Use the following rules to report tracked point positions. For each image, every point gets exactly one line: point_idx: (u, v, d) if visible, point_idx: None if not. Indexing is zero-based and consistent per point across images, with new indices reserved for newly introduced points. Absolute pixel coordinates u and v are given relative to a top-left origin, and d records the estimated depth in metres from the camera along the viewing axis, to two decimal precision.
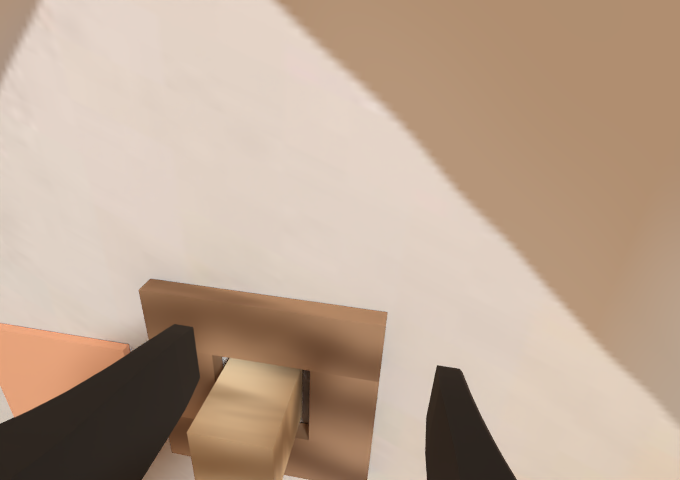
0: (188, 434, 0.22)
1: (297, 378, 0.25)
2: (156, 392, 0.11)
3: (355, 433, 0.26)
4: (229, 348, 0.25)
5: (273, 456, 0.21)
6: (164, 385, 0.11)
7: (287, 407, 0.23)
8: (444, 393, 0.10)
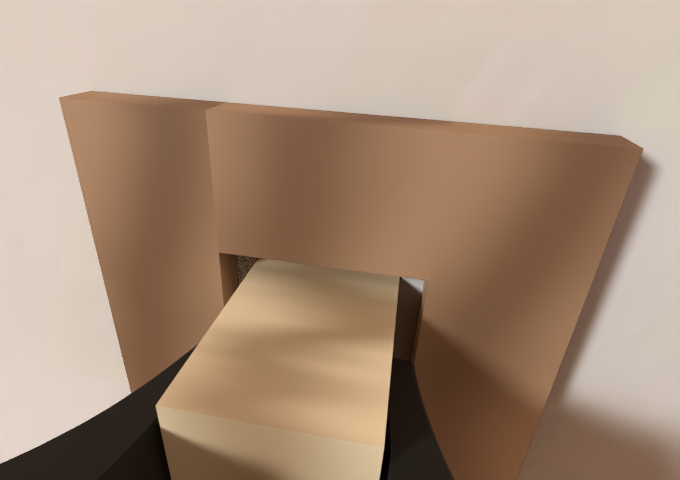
0: None
1: (248, 278, 0.13)
2: None
3: (386, 170, 0.10)
4: None
5: (192, 408, 0.08)
6: None
7: (213, 324, 0.11)
8: (390, 384, 0.10)
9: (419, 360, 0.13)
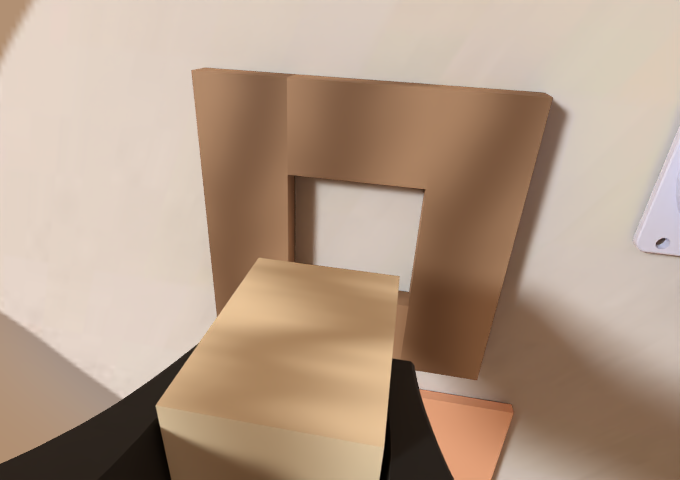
0: None
1: (248, 278, 0.13)
2: None
3: (400, 114, 0.17)
4: None
5: (192, 408, 0.08)
6: None
7: (213, 324, 0.11)
8: (390, 384, 0.10)
9: (420, 249, 0.19)
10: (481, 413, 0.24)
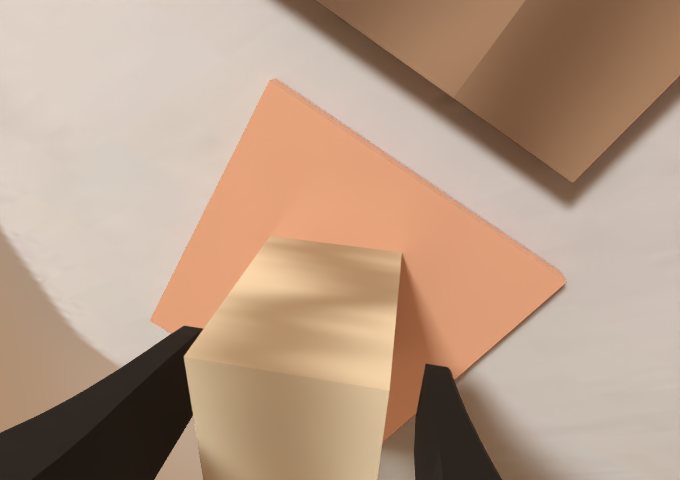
0: None
1: (261, 253, 0.14)
2: (167, 394, 0.11)
3: None
4: None
5: (217, 358, 0.09)
6: (175, 387, 0.11)
7: (231, 291, 0.12)
8: (431, 391, 0.10)
9: None
10: (516, 264, 0.13)
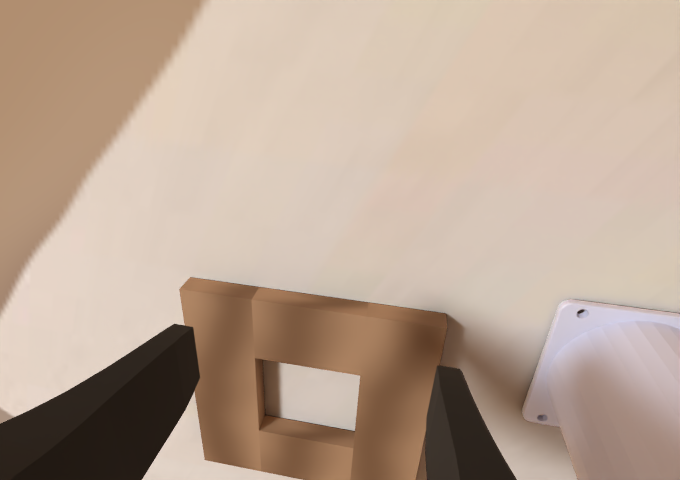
0: None
1: None
2: (156, 392, 0.11)
3: (337, 328, 0.22)
4: (246, 415, 0.26)
5: None
6: (164, 385, 0.11)
7: None
8: (444, 393, 0.10)
9: (359, 412, 0.24)
10: None
